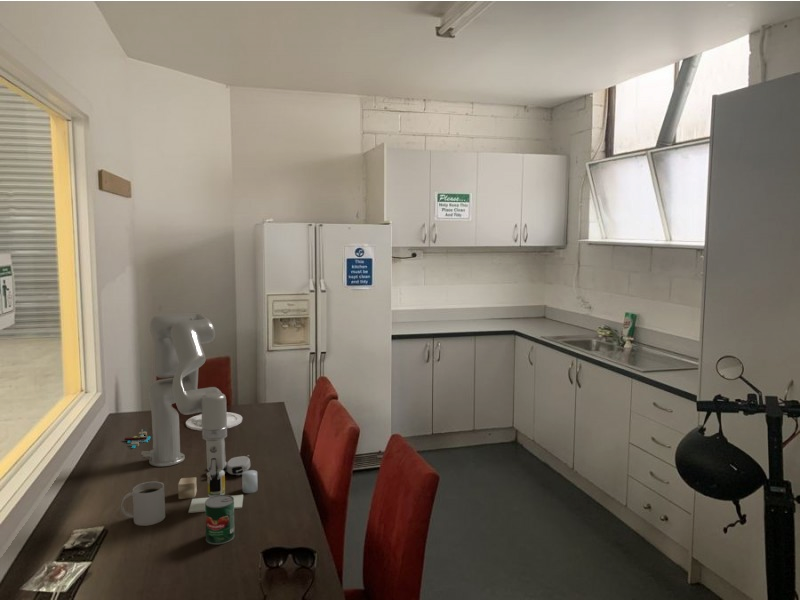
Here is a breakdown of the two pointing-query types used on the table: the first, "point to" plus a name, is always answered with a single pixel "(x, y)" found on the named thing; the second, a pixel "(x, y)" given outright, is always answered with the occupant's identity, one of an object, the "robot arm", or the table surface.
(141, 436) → the gear mechanism
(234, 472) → the robot toy
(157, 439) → the robot arm
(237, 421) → the dish
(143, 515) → the mug
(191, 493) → the birch block
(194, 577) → the table surface
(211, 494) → the supplement bottle
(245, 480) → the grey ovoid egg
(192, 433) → the table surface
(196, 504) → the sage mat
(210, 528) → the canned tomato
